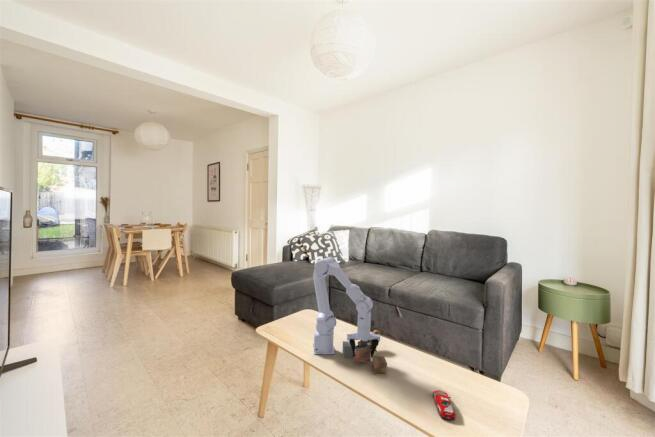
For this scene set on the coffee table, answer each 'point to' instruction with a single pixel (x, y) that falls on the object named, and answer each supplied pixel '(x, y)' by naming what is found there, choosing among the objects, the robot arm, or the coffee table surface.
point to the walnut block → (379, 365)
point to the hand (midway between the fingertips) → (362, 355)
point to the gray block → (347, 349)
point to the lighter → (362, 352)
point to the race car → (443, 405)
